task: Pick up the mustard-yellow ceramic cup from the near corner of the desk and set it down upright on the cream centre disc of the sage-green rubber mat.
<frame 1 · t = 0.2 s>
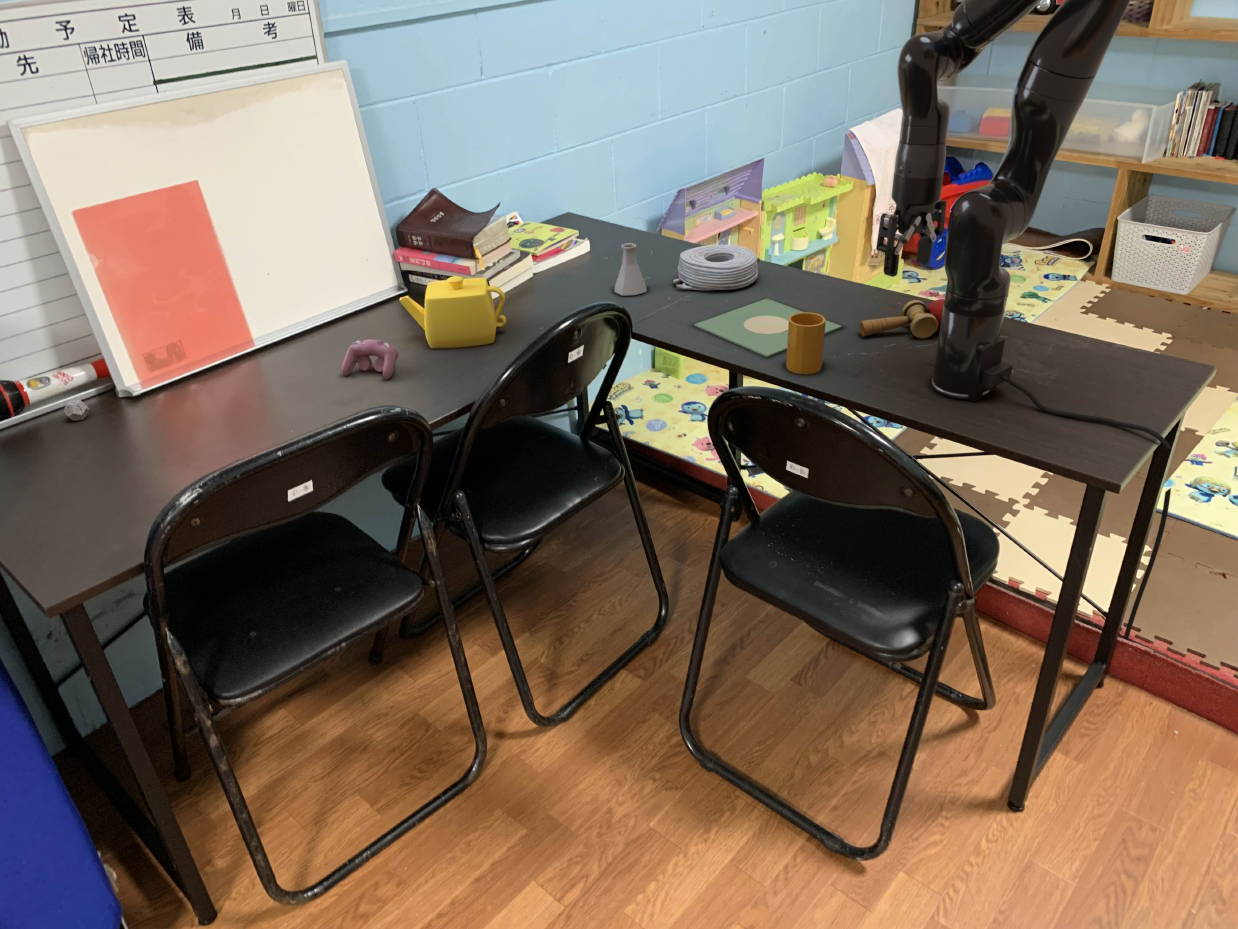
hand: (906, 269, 154), 17 cm above the table, tool pointing down, fingers open, 8 cm apart
cable: (717, 280, 203), on the table
teapot: (458, 336, 182), on the table
flask: (630, 291, 199), on the table
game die: (79, 418, 158), on the table
kendama: (907, 333, 174), on the table
cup: (803, 366, 163), on the table
mat: (767, 326, 179), on the table
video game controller: (372, 373, 169), on the table
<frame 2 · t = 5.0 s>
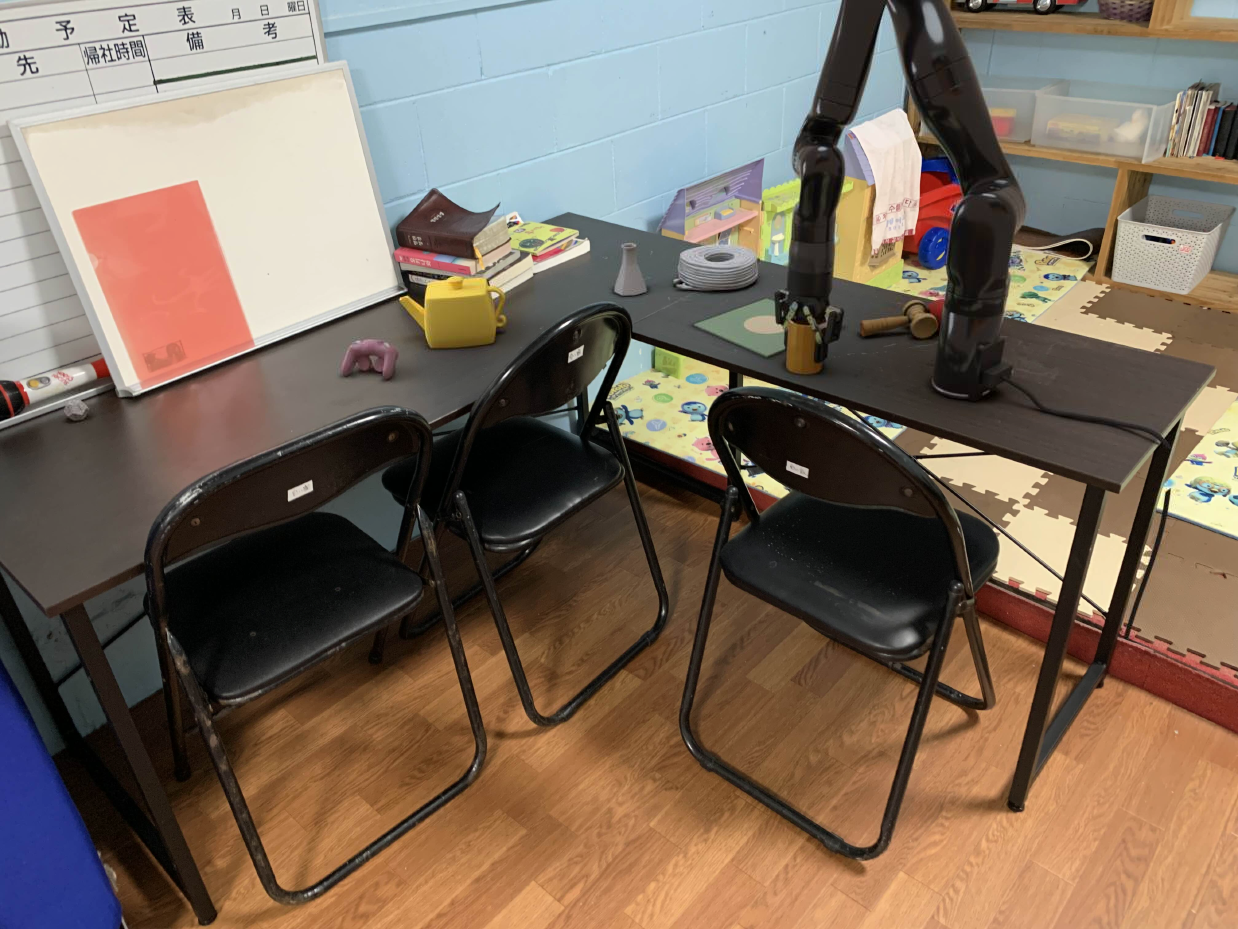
hand: (805, 355, 162), 2 cm above the table, tool pointing down, fingers closed on cup, 6 cm apart
cup: (803, 366, 163), on the table, touching gripper
everything else where it was.
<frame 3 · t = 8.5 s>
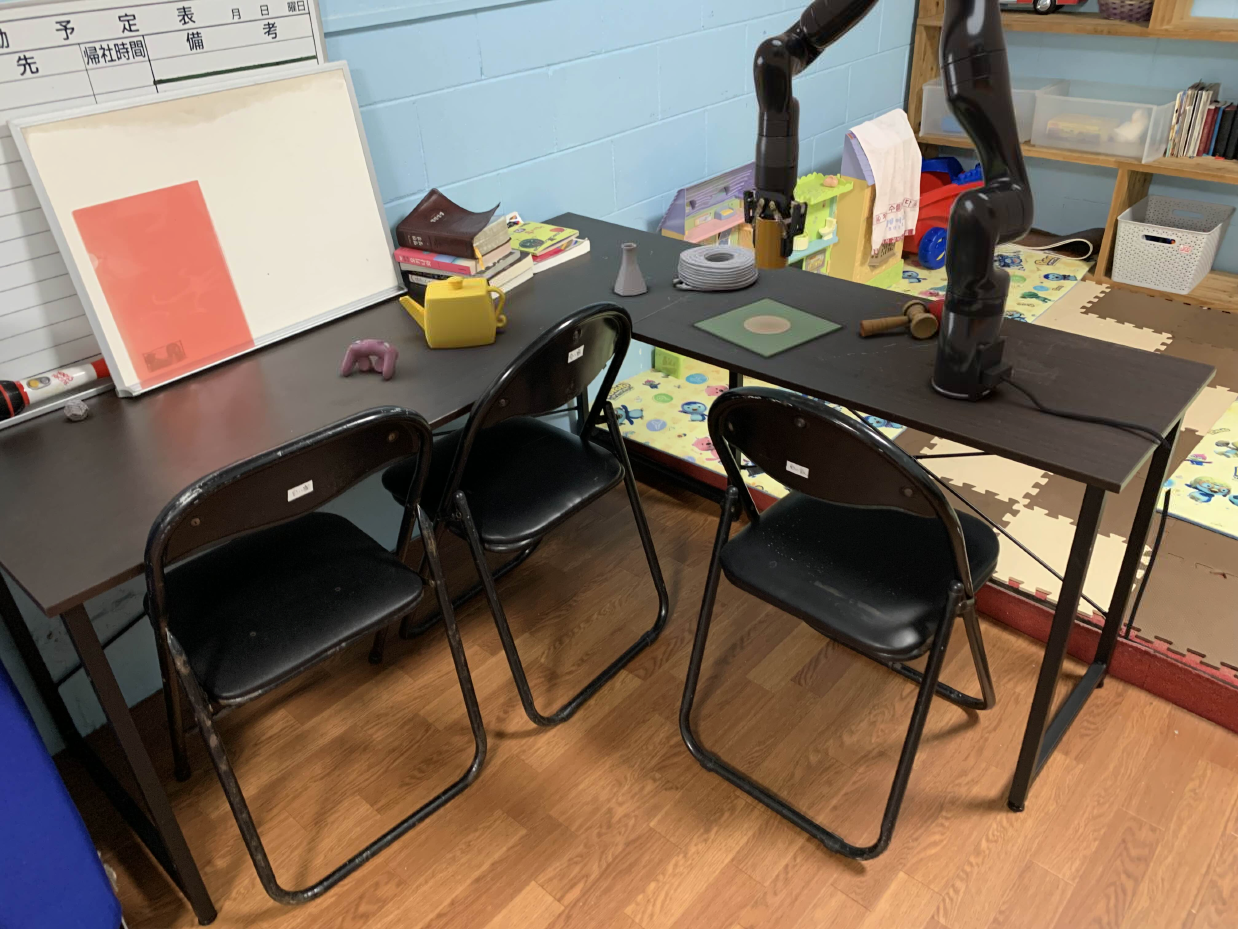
hand: (772, 252, 170), 15 cm above the table, tool pointing down, fingers closed on cup, 6 cm apart
cup: (771, 263, 171), point 13 cm above the table, touching gripper
everything else where it was.
when the fingers open (3 cm above the table, at t = 11.8 s): cup stays where it is, resting on mat.
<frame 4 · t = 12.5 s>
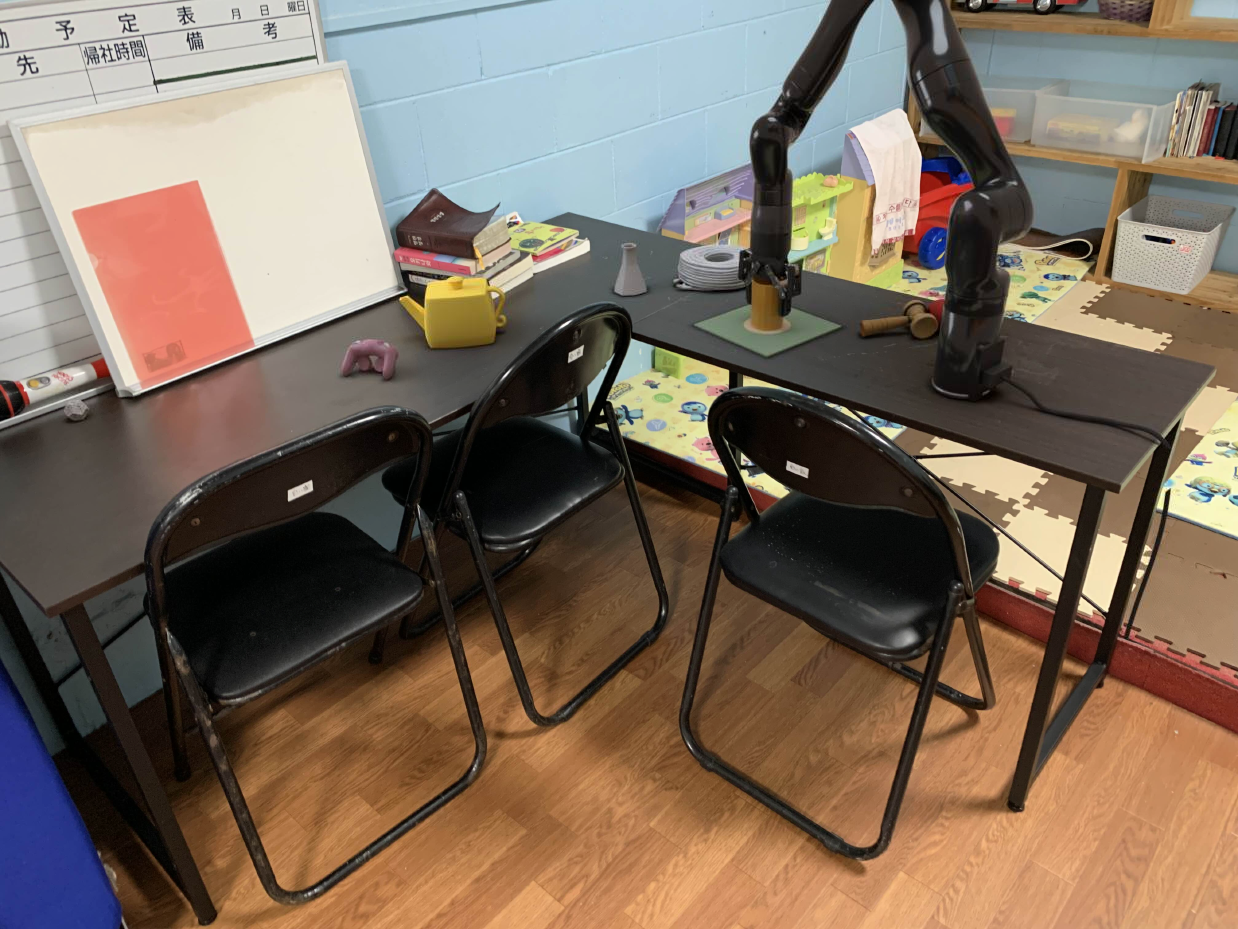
hand: (767, 309, 177), 4 cm above the table, tool pointing down, fingers open, 8 cm apart
cup: (766, 324, 179), resting on mat
everything else where it was.
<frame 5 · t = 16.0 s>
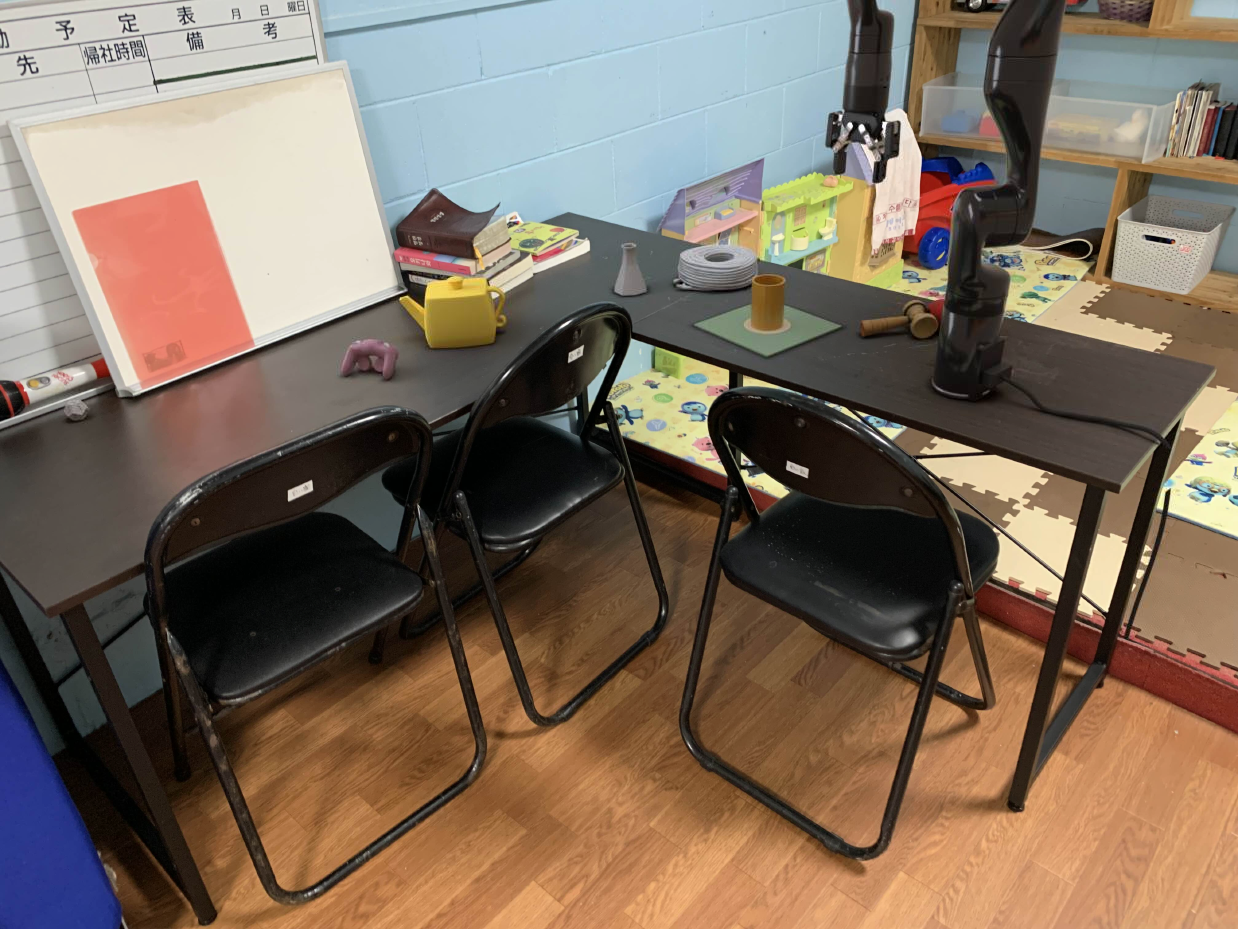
hand: (858, 178, 163), 28 cm above the table, tool pointing down, fingers open, 8 cm apart
nothing on the table moved.
at the end: cup 0.1 cm off-centre on the mat, point 0.5 cm above the mat's base; cup tilted 0°; the gripper is holding nothing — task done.
